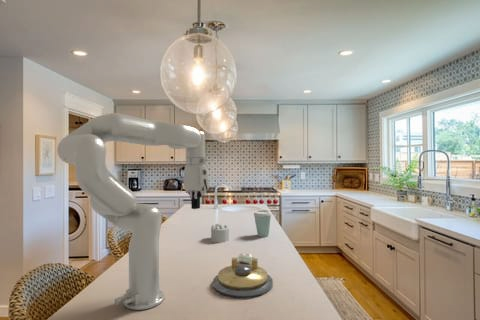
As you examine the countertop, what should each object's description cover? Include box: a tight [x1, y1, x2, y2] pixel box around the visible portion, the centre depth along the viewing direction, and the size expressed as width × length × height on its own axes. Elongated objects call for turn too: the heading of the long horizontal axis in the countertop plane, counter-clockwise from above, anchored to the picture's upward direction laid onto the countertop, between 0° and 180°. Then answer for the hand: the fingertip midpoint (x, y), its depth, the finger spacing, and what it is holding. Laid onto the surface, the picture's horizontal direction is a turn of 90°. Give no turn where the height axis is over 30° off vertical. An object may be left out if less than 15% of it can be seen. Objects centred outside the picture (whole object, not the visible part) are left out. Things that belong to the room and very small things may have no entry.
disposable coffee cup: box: [253, 209, 272, 238], centre depth 178 cm, size 11×11×15 cm
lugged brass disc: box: [217, 257, 268, 291], centre depth 108 cm, size 18×18×6 cm
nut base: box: [212, 273, 274, 299], centre depth 108 cm, size 22×22×3 cm
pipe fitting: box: [237, 253, 256, 265], centre depth 131 cm, size 8×4×7 cm
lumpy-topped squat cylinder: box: [210, 223, 230, 244], centre depth 170 cm, size 10×13×9 cm
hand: (195, 208), depth 115 cm, fingers closed
